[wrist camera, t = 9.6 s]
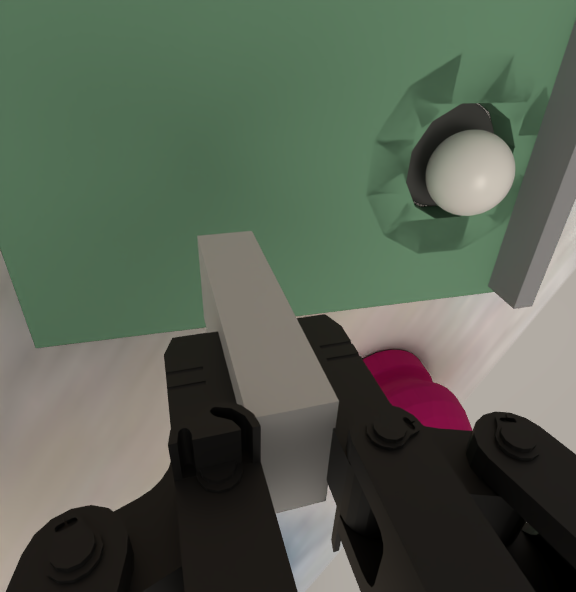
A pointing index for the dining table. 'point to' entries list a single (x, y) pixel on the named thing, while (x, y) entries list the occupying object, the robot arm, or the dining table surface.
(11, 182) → the putting mat
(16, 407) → the dining table surface
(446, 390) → the pepper mill
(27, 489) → the dining table surface
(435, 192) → the ball
